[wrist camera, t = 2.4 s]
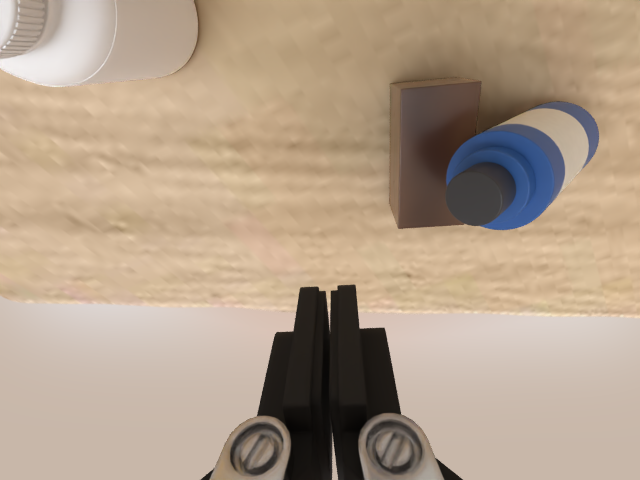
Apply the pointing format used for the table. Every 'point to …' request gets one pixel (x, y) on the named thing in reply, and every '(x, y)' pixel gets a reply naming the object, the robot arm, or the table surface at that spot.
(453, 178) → the bottle
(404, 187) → the block
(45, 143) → the table surface
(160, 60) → the pill bottle
